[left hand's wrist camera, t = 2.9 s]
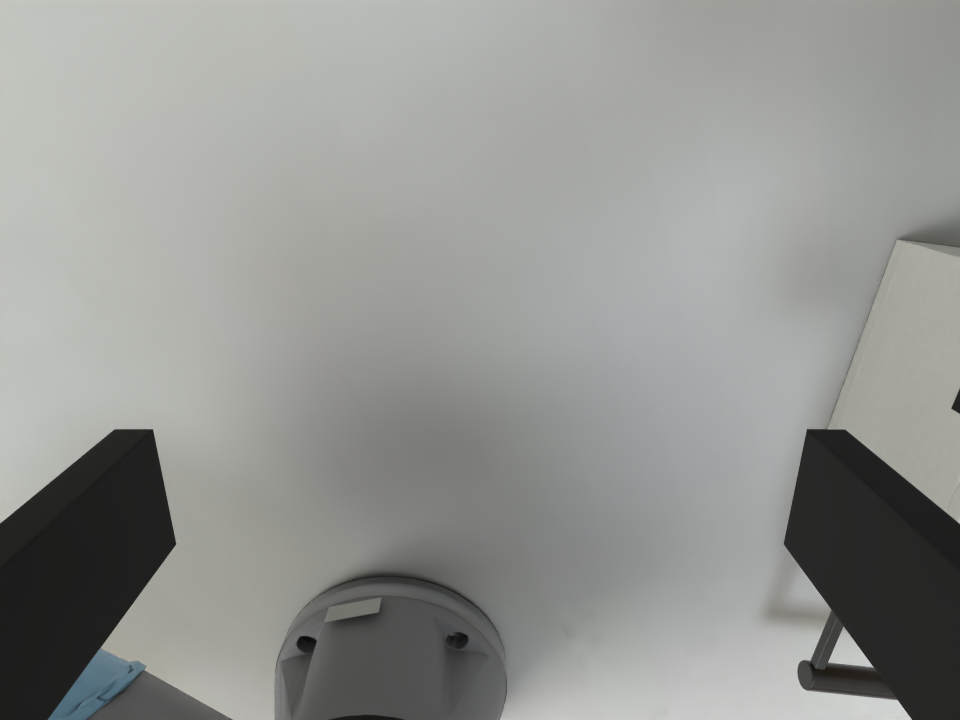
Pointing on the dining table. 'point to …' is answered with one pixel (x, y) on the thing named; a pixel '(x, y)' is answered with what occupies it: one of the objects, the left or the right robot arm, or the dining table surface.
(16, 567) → the left robot arm
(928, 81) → the dining table surface
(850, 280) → the dining table surface
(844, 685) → the drawer
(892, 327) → the cabinet
